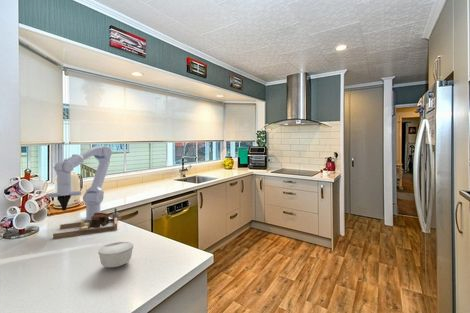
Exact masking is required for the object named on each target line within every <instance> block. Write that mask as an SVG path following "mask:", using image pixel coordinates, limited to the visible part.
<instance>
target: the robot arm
mask: <svg viewBox="0 0 470 313" xmlns="http://www.w3.org/2000/svg"><path fill="white" fill-rule="evenodd" d="M112 154H113V151H112V149H111V147H110V146H108V145H105V146H93V147H89V149H88V150H86V151H84V152H83V153H81V154H75V153H74V154H72V155H71V156H70V157H68V158H63V159H64V160H63V161H62V160H61V161H57V162H56V164H54V167H53V170H54V171H55V173H56V180H57V181H56V187H57V188H56V189H57V192H49V193H45V198H46V199H47V198H56V200H57V201H58V203H59V204H60V207H61V211H67V207H68V203H69V201H70V199H71V198H72V196H82V191H80V190H79V191H78V190H77V191H74V190H73V191H72V172H73V170H74V169H75V168H76V167H78V166H79V165H81V164H83V163H84V161H85V160H87V159H88V158H91V157H94V158H95V160H96V161H98V166H97V169H96V171H95V174H94V177H93V181H92V183H91V186H90V187H89V188H87V189H86V191H85V193H83V196H82V201H83V203H84V204H85V210H86V212H85V214H86V217H85V219H84V220H85V222H87V221H92V218H91V217H92V216H94V213H101V204H102V202H103V200H104V198H105V196H104V194H105V191H104V190H103V189H102V187H103V185H104V181H105V178H106V175H107V172H108V169H109V166H110V162H111V156H112Z"/></svg>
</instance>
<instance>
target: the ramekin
mask: <svg viewBox="0 0 470 313" xmlns="http://www.w3.org/2000/svg"><path fill="white" fill-rule="evenodd" d="M133 249H134V243H132V242H131V241H117V242H111V243H109V244H105V245H103V246H101V247H100V248H99V249H98V251H97V254H98V255H99V256H98V257H99V261H100V262H99V263H100V264H101V265H102V266H103V268H116V267H121V266H123V265H125V264H127V263H129V261H130V260H131V259H132V255H133Z"/></svg>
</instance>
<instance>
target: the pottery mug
mask: <svg viewBox="0 0 470 313" xmlns="http://www.w3.org/2000/svg"><path fill="white" fill-rule="evenodd" d="M91 218H92V220H91V221H92V223H91V224H89V229H92V228H100V227H106V224H109V219H110V215H109V213H106V212H100V213H94V216H92V217H91Z"/></svg>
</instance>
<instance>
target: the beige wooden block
mask: <svg viewBox="0 0 470 313" xmlns="http://www.w3.org/2000/svg"><path fill="white" fill-rule="evenodd" d="M80 222H81V226H80V227H79V228H80V229H79V230H85V229H90V228H89V224H90V222H87V221H85V219H81V221H80ZM85 222H86V223H85Z"/></svg>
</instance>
